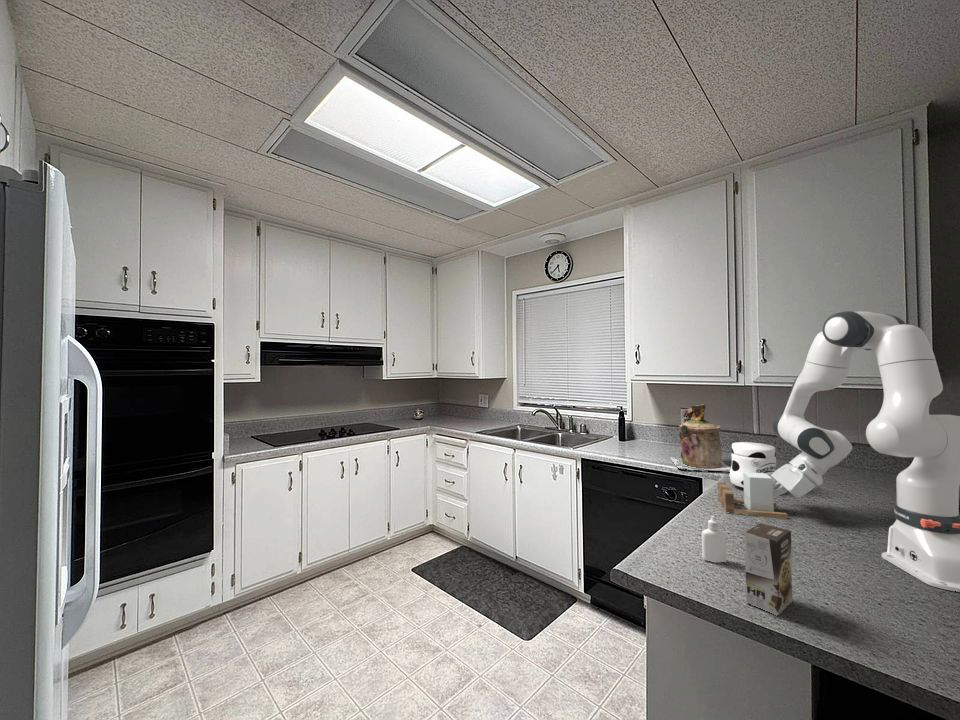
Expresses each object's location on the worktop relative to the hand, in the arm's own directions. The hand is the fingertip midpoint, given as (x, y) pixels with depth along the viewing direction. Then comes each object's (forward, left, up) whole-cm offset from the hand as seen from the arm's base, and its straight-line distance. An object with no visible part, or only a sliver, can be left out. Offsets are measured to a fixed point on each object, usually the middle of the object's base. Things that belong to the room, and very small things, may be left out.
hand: (772, 494), depth 146 cm
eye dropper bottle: (-46, +26, -6) cm, 53 cm away
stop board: (0, +14, -6) cm, 16 cm away
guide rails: (0, +6, -6) cm, 9 cm away
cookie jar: (+61, +14, -6) cm, 63 cm away
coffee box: (-64, +18, -6) cm, 67 cm away
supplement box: (0, +4, -6) cm, 7 cm away
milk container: (+28, -1, -6) cm, 29 cm away
